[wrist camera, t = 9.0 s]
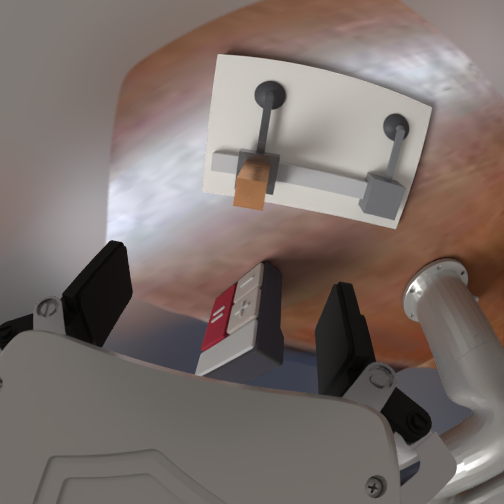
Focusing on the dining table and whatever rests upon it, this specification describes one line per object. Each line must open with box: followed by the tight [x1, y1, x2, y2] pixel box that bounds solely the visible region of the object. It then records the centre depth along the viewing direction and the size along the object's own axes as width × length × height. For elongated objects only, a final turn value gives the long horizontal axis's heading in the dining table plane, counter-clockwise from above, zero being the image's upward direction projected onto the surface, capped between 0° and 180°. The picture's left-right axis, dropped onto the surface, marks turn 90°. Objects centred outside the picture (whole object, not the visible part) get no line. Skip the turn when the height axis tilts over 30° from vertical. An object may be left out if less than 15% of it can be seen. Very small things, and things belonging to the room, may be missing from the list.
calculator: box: [195, 262, 284, 384], centre depth 34 cm, size 11×4×15 cm, turn 137°
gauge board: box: [202, 54, 432, 229], centre depth 27 cm, size 24×16×4 cm, turn 82°
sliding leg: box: [233, 91, 280, 211], centre depth 23 cm, size 4×10×8 cm, turn 172°
